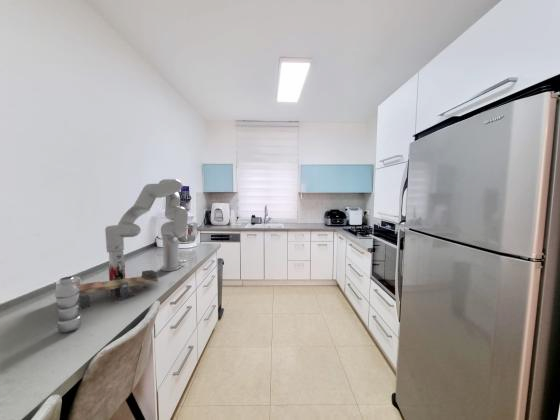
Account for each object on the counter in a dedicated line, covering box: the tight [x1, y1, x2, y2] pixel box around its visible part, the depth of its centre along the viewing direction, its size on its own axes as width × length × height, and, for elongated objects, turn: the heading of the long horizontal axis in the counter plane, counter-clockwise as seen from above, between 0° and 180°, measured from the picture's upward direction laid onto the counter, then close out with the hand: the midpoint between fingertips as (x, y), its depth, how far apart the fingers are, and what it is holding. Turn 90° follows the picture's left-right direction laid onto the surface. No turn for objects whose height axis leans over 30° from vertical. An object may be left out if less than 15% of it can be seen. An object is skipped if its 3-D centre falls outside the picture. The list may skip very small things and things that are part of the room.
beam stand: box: [78, 277, 136, 310], centre depth 104 cm, size 20×13×8 cm, turn 142°
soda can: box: [108, 264, 126, 281], centre depth 119 cm, size 7×7×12 cm
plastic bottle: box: [54, 275, 83, 334], centre depth 80 cm, size 6×7×20 cm
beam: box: [77, 269, 159, 294], centre depth 108 cm, size 32×8×4 cm, turn 142°
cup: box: [55, 276, 82, 295], centre depth 104 cm, size 8×12×10 cm
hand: (117, 279), depth 119 cm, fingers closed on soda can, 6 cm apart
